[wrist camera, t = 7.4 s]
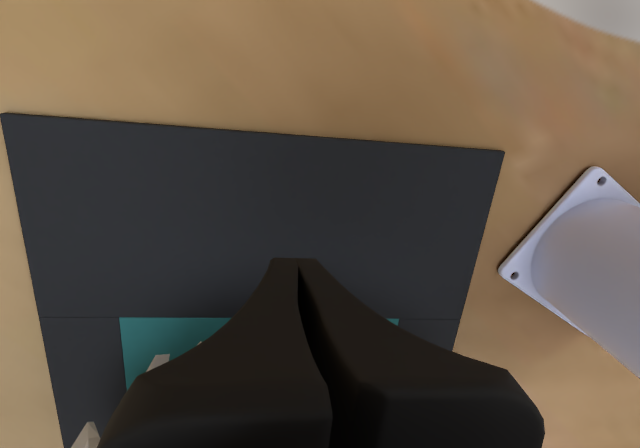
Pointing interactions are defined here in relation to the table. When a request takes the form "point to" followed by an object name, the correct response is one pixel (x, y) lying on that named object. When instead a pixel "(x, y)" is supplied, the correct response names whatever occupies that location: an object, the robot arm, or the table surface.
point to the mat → (226, 236)
